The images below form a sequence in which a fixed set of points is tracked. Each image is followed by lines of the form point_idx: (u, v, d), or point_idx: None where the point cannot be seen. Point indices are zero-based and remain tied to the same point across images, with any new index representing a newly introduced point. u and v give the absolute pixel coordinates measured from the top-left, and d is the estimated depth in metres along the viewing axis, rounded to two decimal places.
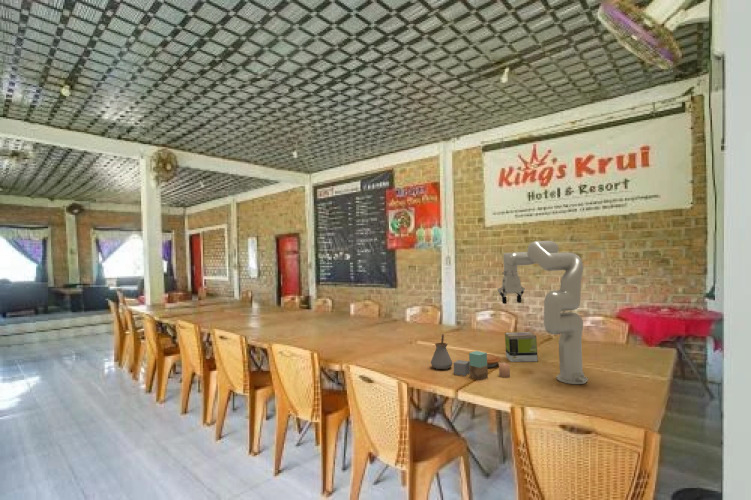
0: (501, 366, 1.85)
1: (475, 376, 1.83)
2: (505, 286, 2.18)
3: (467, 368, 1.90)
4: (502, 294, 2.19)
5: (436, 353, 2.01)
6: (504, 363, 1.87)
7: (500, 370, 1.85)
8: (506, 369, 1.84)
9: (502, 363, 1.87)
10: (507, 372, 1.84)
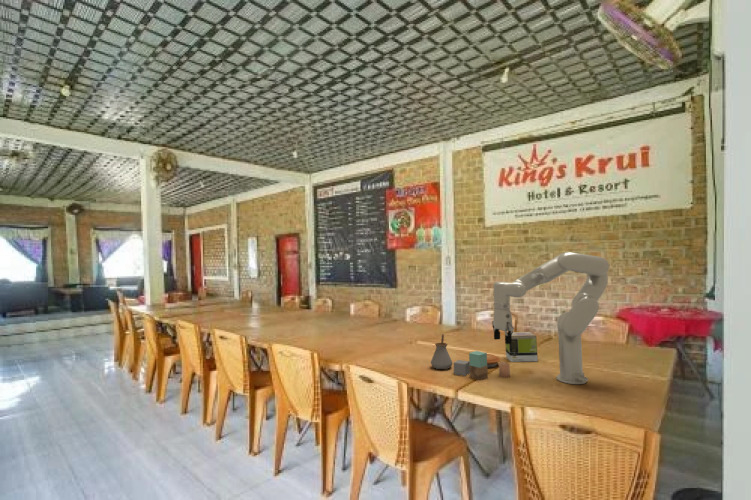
0: (501, 366, 1.85)
1: (475, 376, 1.83)
2: (511, 322, 1.82)
3: (467, 368, 1.90)
4: (511, 332, 1.81)
5: (436, 353, 2.01)
6: (504, 363, 1.87)
7: (500, 370, 1.85)
8: (506, 369, 1.84)
9: (502, 363, 1.87)
10: (507, 372, 1.84)
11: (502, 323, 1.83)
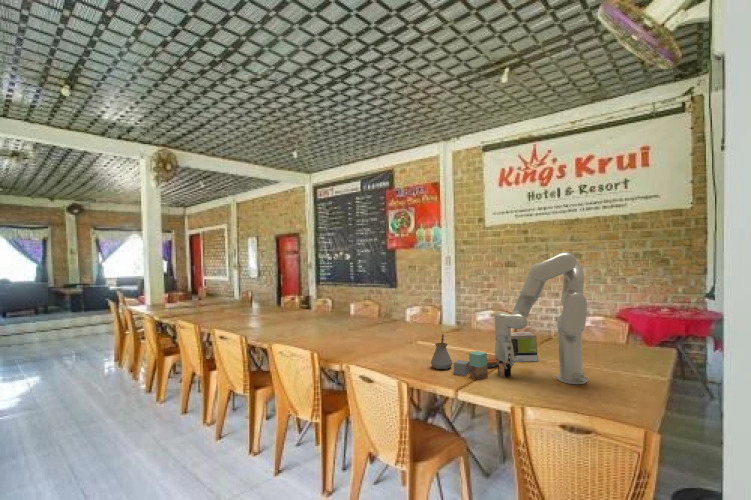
0: (501, 366, 1.85)
1: (475, 376, 1.83)
2: (512, 354, 1.82)
3: (467, 368, 1.90)
4: None
5: (436, 353, 2.01)
6: None
7: (500, 370, 1.85)
8: None
9: (502, 363, 1.87)
10: None
11: (504, 355, 1.82)
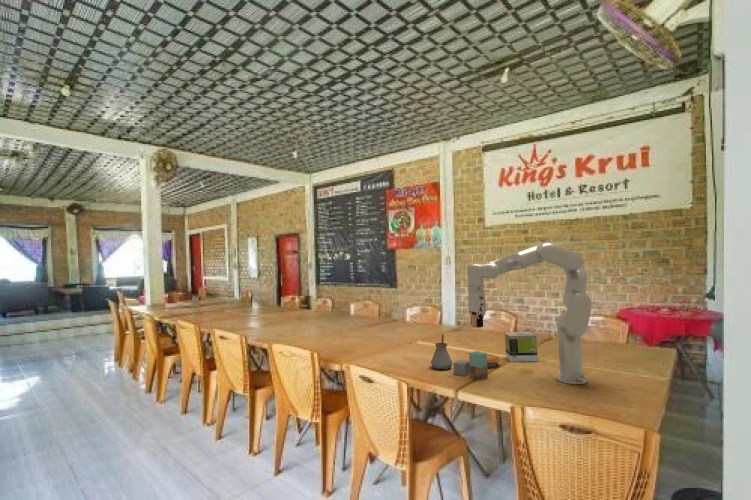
0: (473, 316, 1.84)
1: (475, 376, 1.83)
2: (484, 304, 1.81)
3: (467, 368, 1.90)
4: None
5: (436, 353, 2.01)
6: None
7: (472, 321, 1.85)
8: None
9: (475, 314, 1.86)
10: None
11: (476, 305, 1.81)
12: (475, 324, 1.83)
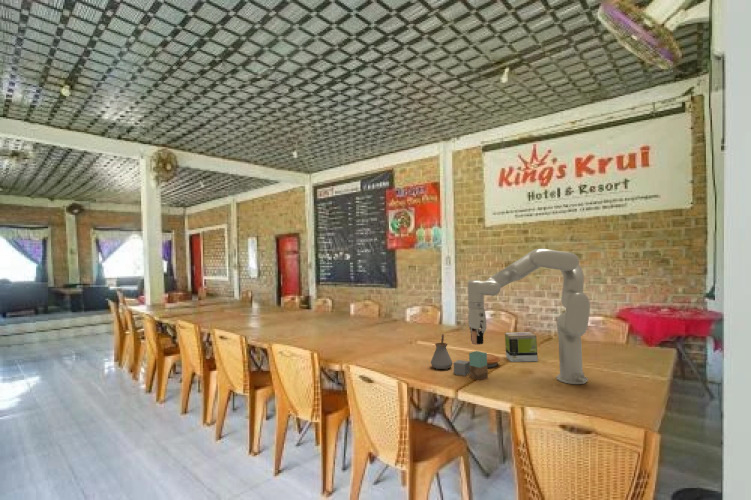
0: (473, 333, 1.84)
1: (475, 376, 1.83)
2: (484, 321, 1.81)
3: (467, 368, 1.90)
4: None
5: (436, 353, 2.01)
6: None
7: (472, 337, 1.84)
8: None
9: (475, 331, 1.86)
10: None
11: (476, 322, 1.81)
12: (475, 341, 1.83)
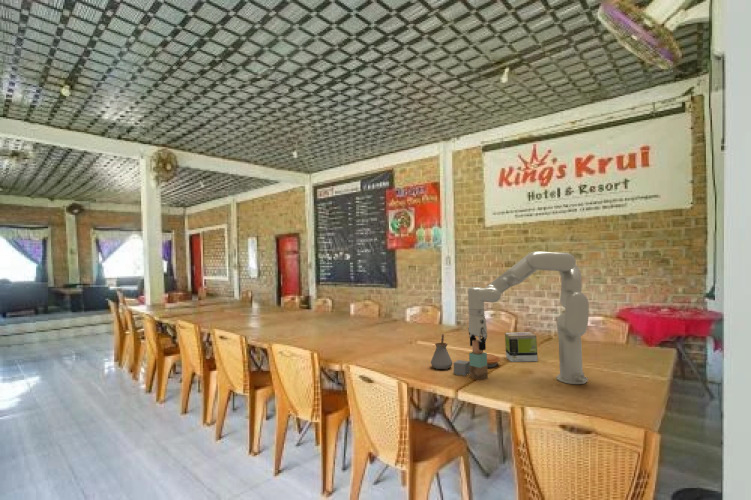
0: (474, 343, 1.84)
1: (475, 376, 1.83)
2: (485, 328, 1.81)
3: (467, 368, 1.90)
4: None
5: (436, 353, 2.01)
6: (477, 340, 1.86)
7: (473, 347, 1.84)
8: None
9: (475, 340, 1.86)
10: None
11: (476, 329, 1.81)
12: (476, 350, 1.83)
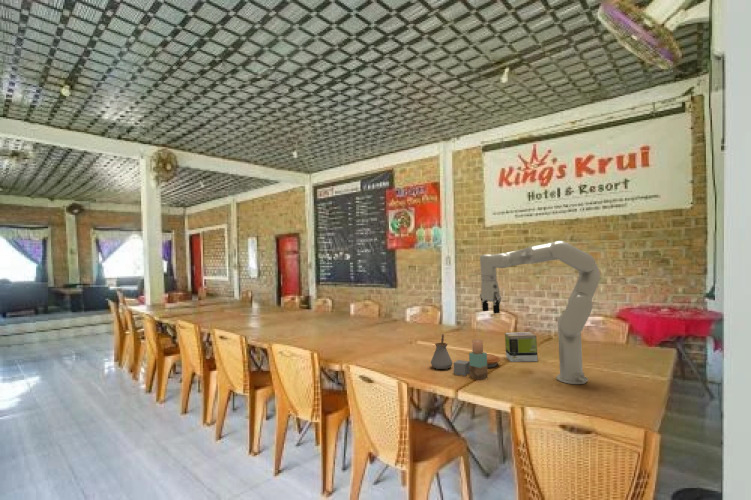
0: (474, 343, 1.84)
1: (475, 376, 1.83)
2: (498, 292, 1.88)
3: (467, 368, 1.90)
4: None
5: (436, 353, 2.01)
6: (477, 340, 1.86)
7: (473, 347, 1.84)
8: (479, 346, 1.83)
9: (475, 340, 1.86)
10: (480, 349, 1.83)
11: (490, 294, 1.88)
12: (476, 351, 1.83)
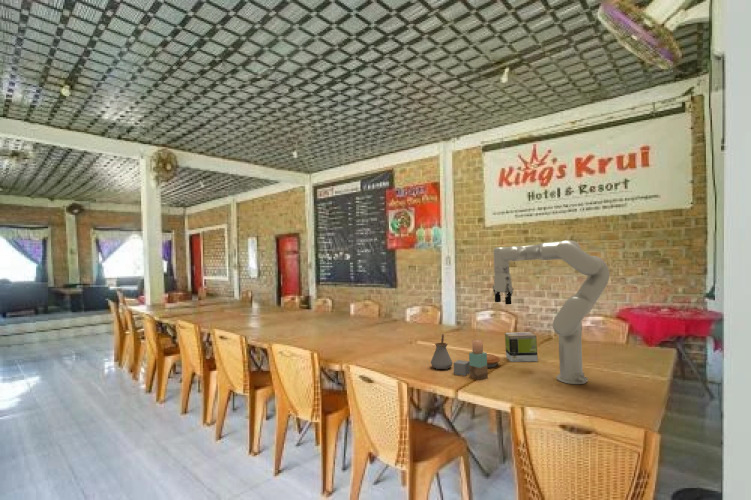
0: (474, 343, 1.84)
1: (475, 376, 1.83)
2: (510, 284, 1.94)
3: (467, 368, 1.90)
4: None
5: (436, 353, 2.01)
6: (477, 340, 1.86)
7: (473, 347, 1.84)
8: (479, 346, 1.83)
9: (475, 340, 1.86)
10: (480, 349, 1.83)
11: (502, 285, 1.94)
12: (476, 351, 1.83)
